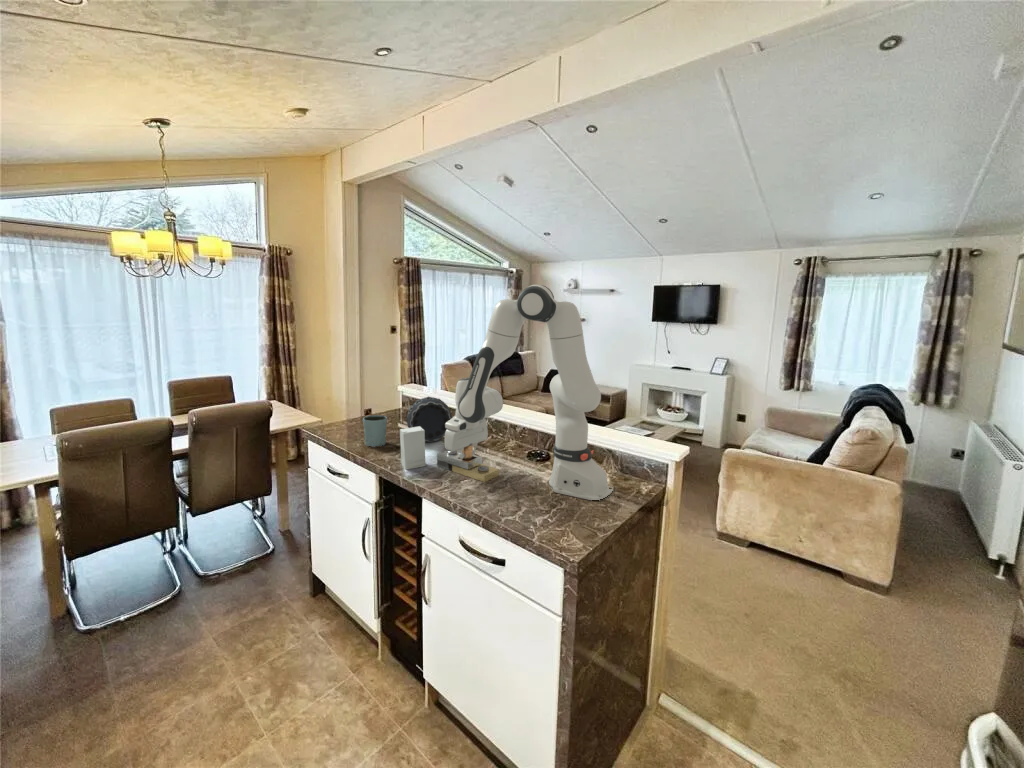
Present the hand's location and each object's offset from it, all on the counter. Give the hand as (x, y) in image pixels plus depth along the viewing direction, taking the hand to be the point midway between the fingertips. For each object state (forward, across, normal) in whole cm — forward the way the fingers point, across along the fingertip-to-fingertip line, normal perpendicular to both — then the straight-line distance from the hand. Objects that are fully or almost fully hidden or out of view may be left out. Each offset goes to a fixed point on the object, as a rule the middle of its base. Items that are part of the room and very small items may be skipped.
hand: (467, 456), depth 164 cm
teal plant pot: (+6, +3, -52) cm, 53 cm away
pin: (+4, 0, 0) cm, 4 cm away
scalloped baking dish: (+6, -16, -38) cm, 42 cm away
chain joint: (+6, 0, 0) cm, 6 cm away
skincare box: (+6, +10, -19) cm, 22 cm away
